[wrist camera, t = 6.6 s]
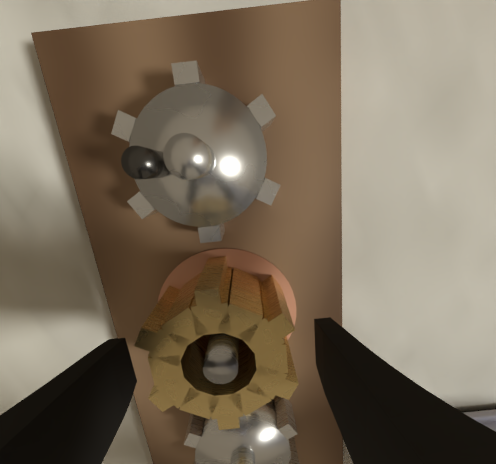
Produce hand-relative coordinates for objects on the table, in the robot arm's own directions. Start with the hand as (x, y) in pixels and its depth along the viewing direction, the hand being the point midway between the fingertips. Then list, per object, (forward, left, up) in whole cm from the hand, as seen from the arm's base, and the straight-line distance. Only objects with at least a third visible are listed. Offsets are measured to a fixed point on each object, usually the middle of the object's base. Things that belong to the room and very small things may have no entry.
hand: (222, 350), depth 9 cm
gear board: (0, 0, -4) cm, 4 cm away
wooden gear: (0, 0, -2) cm, 2 cm away
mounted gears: (0, 0, -2) cm, 2 cm away
